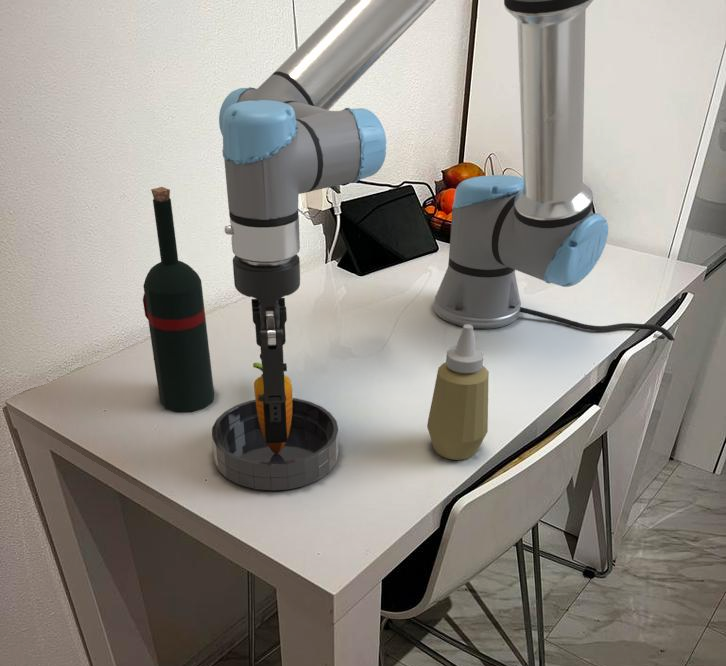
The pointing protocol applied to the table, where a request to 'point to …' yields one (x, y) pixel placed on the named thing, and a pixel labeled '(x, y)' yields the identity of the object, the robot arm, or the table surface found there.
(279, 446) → the carrot
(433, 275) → the table surface
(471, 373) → the squeeze bottle
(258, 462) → the pan
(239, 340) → the table surface
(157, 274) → the wine bottle
